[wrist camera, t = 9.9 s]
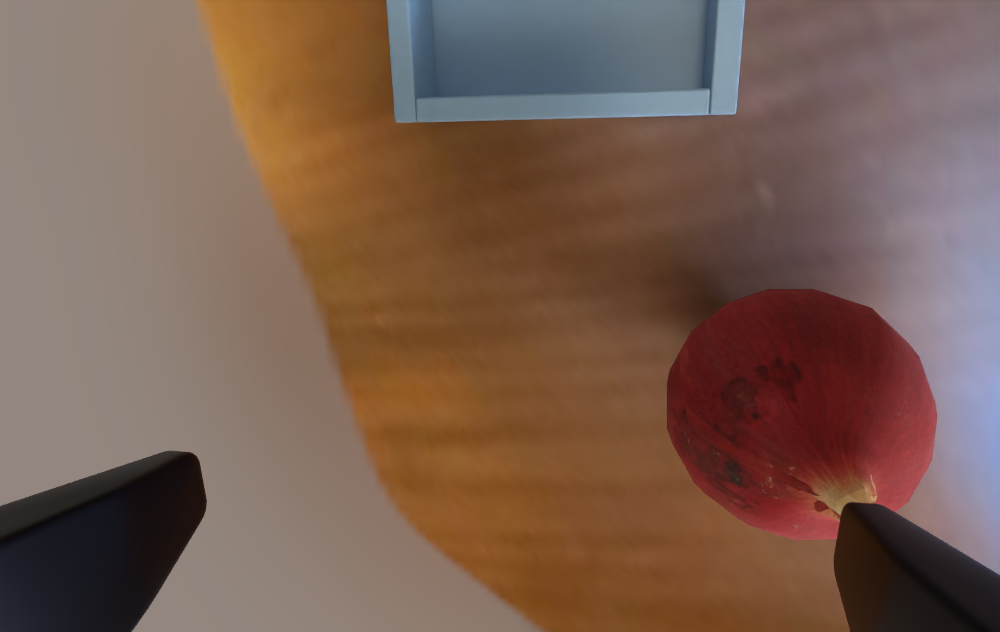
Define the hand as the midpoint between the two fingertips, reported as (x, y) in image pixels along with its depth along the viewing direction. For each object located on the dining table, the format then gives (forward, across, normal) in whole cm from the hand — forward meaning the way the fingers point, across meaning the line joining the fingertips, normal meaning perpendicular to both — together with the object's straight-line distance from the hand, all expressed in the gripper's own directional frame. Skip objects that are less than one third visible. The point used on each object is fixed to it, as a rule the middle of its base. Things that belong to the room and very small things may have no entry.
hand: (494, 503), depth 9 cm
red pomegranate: (+12, -6, +2) cm, 13 cm away
